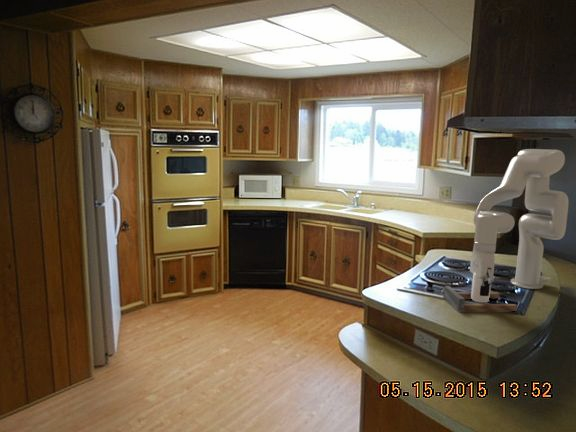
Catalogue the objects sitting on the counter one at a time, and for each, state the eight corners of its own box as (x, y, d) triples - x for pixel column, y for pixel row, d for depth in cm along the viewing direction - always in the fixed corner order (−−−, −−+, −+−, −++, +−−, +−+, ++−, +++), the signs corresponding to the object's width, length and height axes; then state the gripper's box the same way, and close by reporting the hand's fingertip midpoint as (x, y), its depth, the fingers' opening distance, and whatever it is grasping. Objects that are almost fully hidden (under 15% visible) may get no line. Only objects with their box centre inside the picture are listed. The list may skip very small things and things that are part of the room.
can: (487, 304, 161) (490, 273, 159) (469, 300, 165) (471, 270, 163) (490, 299, 166) (493, 269, 164) (473, 296, 170) (475, 266, 168)
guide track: (497, 298, 173) (498, 286, 173) (516, 312, 160) (518, 299, 159) (443, 298, 173) (444, 286, 172) (457, 311, 159) (459, 298, 158)
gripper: (464, 241, 171) (460, 285, 174) (485, 252, 154) (481, 300, 157) (483, 241, 171) (478, 285, 174) (506, 252, 154) (501, 301, 157)
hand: (480, 292), depth 165 cm, fingers closed on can, 5 cm apart
